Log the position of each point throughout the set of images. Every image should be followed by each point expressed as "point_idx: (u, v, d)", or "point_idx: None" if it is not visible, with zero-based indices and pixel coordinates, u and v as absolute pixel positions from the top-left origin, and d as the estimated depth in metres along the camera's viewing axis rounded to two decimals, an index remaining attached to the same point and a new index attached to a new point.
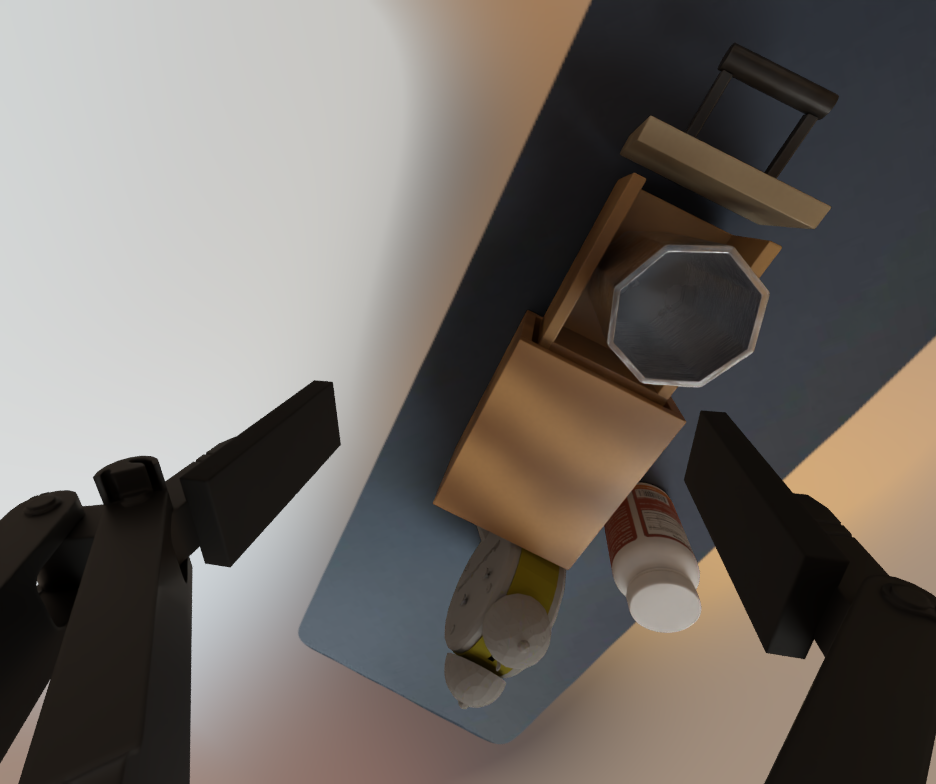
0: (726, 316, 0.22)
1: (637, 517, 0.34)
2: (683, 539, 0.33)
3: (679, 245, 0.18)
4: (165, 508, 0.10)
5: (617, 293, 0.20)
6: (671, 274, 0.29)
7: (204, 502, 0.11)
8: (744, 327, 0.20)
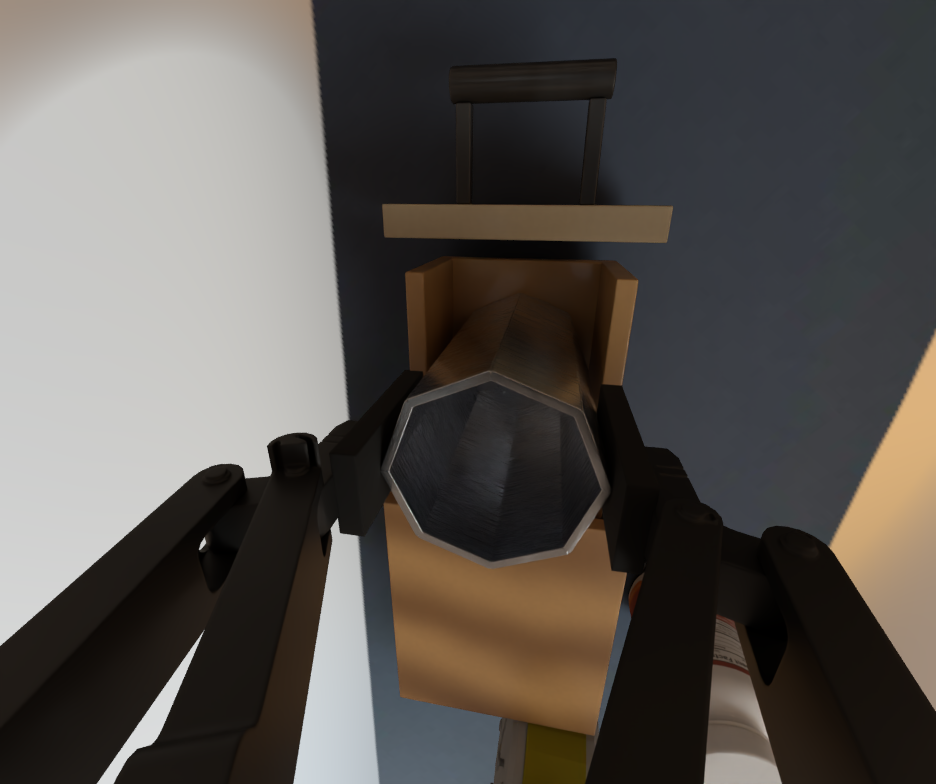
0: None
1: None
2: (729, 653, 0.23)
3: (422, 394, 0.12)
4: (316, 485, 0.10)
5: (388, 475, 0.13)
6: None
7: (349, 475, 0.12)
8: None
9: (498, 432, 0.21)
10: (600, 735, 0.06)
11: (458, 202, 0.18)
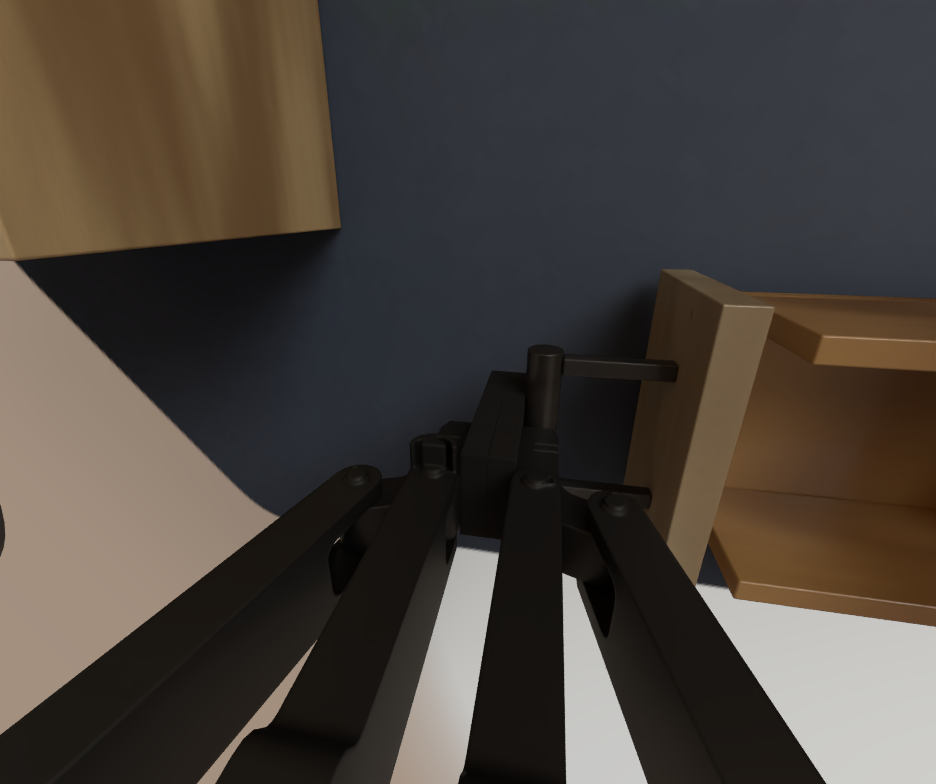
0: None
1: None
2: None
3: None
4: (449, 491, 0.10)
5: None
6: None
7: (478, 476, 0.12)
8: None
9: None
10: (476, 703, 0.06)
11: (647, 507, 0.16)
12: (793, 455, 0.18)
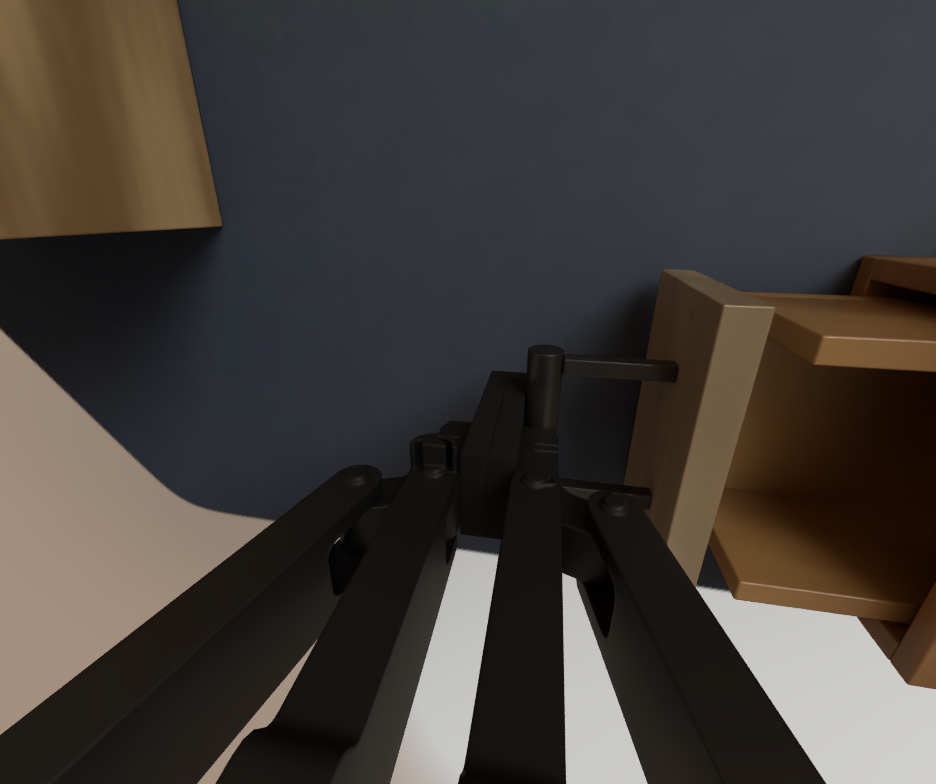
0: None
1: None
2: None
3: None
4: (449, 491, 0.10)
5: None
6: None
7: (478, 476, 0.12)
8: None
9: None
10: (476, 703, 0.06)
11: (648, 507, 0.16)
12: (794, 455, 0.18)
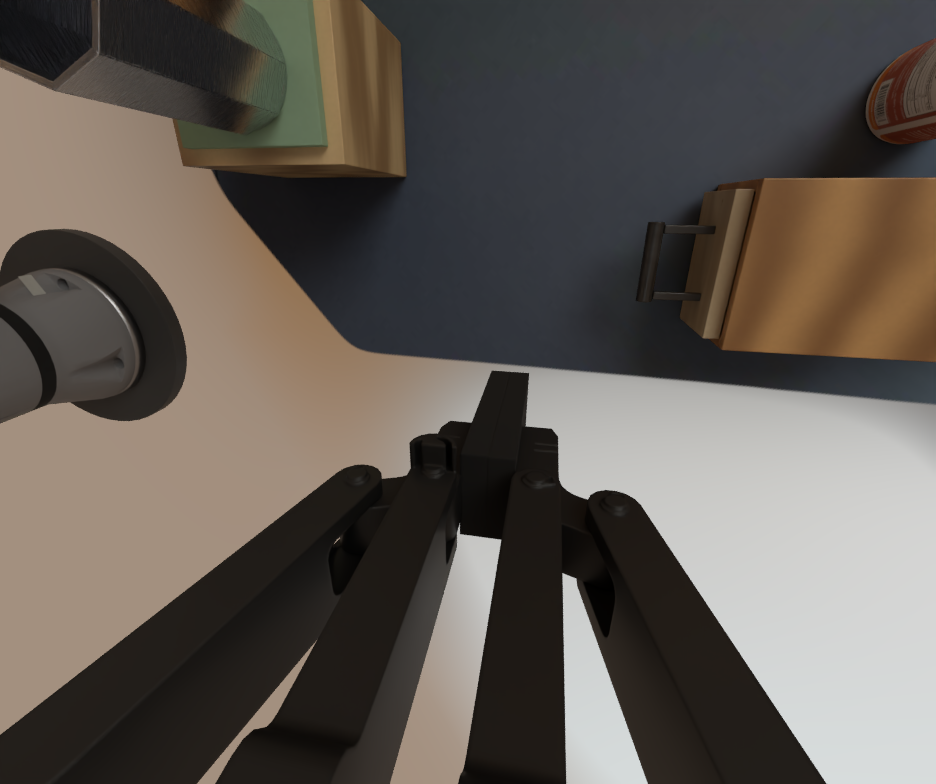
0: None
1: (918, 121, 0.28)
2: None
3: None
4: (449, 491, 0.10)
5: (57, 83, 0.17)
6: None
7: (478, 476, 0.12)
8: None
9: None
10: (476, 703, 0.06)
11: (699, 300, 0.34)
12: None
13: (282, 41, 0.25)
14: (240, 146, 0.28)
